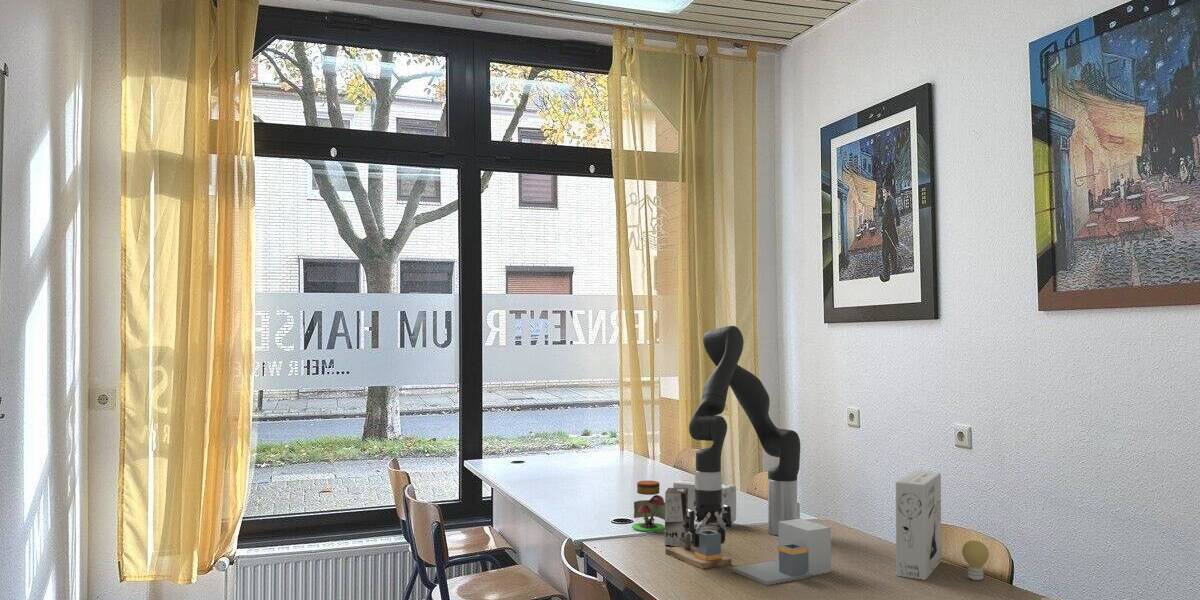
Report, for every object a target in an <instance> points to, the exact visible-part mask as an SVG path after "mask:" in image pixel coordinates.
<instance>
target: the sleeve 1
mask: <svg viewBox="0 0 1200 600" xmlns="http://www.w3.org/2000/svg"><path fill="white" fill-rule="evenodd" d="M698 534H699V547H697V548H696V552H695V557H698V558H700V559H703V560H705V561H709V560H716V559H721V558H722V555H723V553H722V544H721V533H718V532H717V530H712V529H706V530H705V529H704V530H700V532H699V533H698Z"/></svg>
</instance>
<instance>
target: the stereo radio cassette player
mask: <svg viewBox="0 0 1200 600" xmlns="http://www.w3.org/2000/svg"><path fill="white" fill-rule="evenodd" d="M676 464H678V465H680V466H682V468H684V469H686V470H687V471H688V472H690V473H692V474H693V475H694V476H695V474H696V472H694V471H692V470H691V469H689V468H687V467H686V466H685V465H683V464H681V463H680V462H679V461H676ZM672 488H688V509H689V510H695V509H696V503H695V479H694V480H693V479H683V478H682V479H678V480H675V481H673V482H672ZM722 505H727V506H730V508H731V525H732V524H733V523H734V522H736V520H737V487H736V485H735V484H729V483H722V503H721V506H722ZM695 516H696V515H695ZM696 517H697V516H696ZM696 517H694V520H695V519H696ZM720 517H721V519H722V520H723V518H722V512H721V514H720ZM699 523H700V521H699ZM709 525H712V526H713V525H714V526H717V525H716V524H715V523H710V524H709Z"/></svg>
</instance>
